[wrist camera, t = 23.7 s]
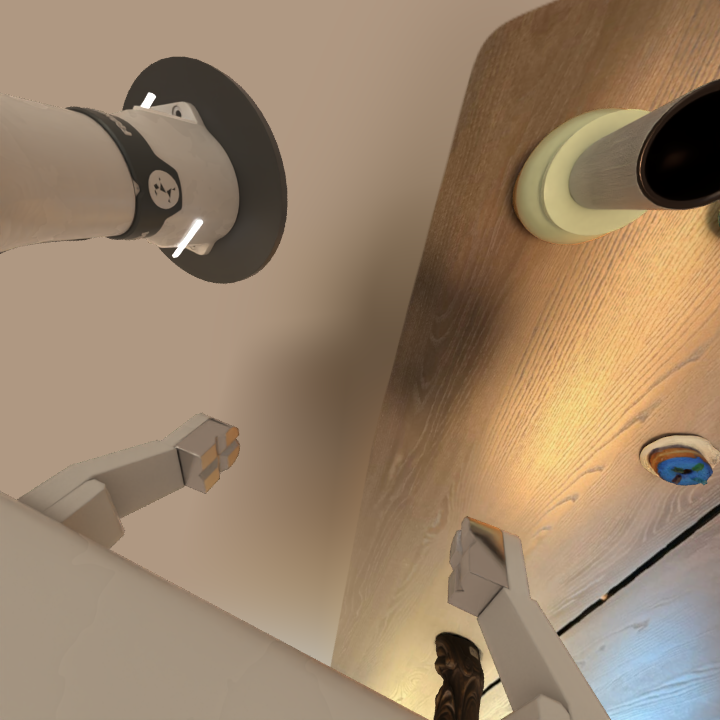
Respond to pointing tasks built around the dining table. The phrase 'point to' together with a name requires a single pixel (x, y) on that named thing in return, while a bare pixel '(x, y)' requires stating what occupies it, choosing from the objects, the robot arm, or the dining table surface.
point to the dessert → (681, 459)
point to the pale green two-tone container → (551, 181)
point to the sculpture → (458, 679)
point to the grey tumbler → (656, 159)
